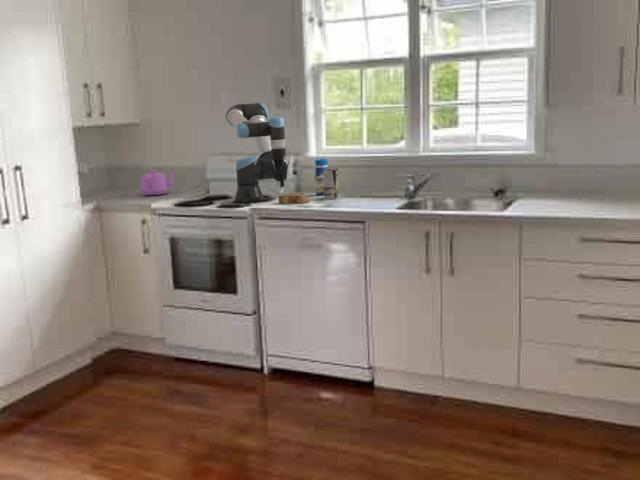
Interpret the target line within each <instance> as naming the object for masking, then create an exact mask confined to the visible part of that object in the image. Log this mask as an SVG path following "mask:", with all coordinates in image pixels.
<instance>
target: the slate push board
mask: <svg viewBox="0 0 640 480" xmlns="http://www.w3.org/2000/svg"><path fill="white" fill-rule="evenodd" d="M332 204H333V202H329V201H324V200H323V201H321V200H313V199H309V203H307V204H296V203H288V204H280V203H279V202H276V203H275V205H280V206H286V207H287V206H288V207H294V208H303V209H311V208H315V207H316V208H317V207H321V206H325V205H332Z"/></svg>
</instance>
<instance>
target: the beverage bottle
mask: <svg viewBox="0 0 640 480" xmlns="http://www.w3.org/2000/svg"><path fill="white" fill-rule="evenodd" d="M314 162H315V166H316V167H315V169H314V182H315V183H314V184H315V196H316V197H324V174H323V171H324V170H325V169H329V167H328V165H329V161H328V158H316V159H315V161H314Z"/></svg>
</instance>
